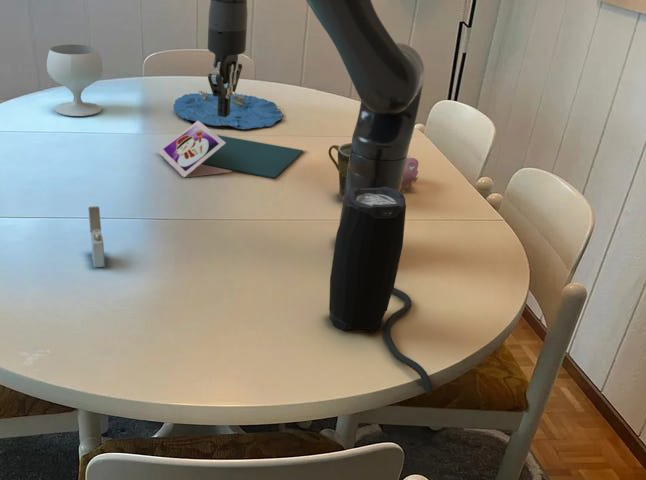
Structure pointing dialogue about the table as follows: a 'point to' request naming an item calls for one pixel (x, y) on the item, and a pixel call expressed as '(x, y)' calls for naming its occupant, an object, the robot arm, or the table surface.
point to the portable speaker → (366, 257)
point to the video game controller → (410, 172)
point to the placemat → (252, 157)
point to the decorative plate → (242, 110)
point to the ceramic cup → (341, 164)
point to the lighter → (96, 237)
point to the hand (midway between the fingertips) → (223, 115)
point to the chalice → (75, 75)
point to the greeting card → (194, 151)
